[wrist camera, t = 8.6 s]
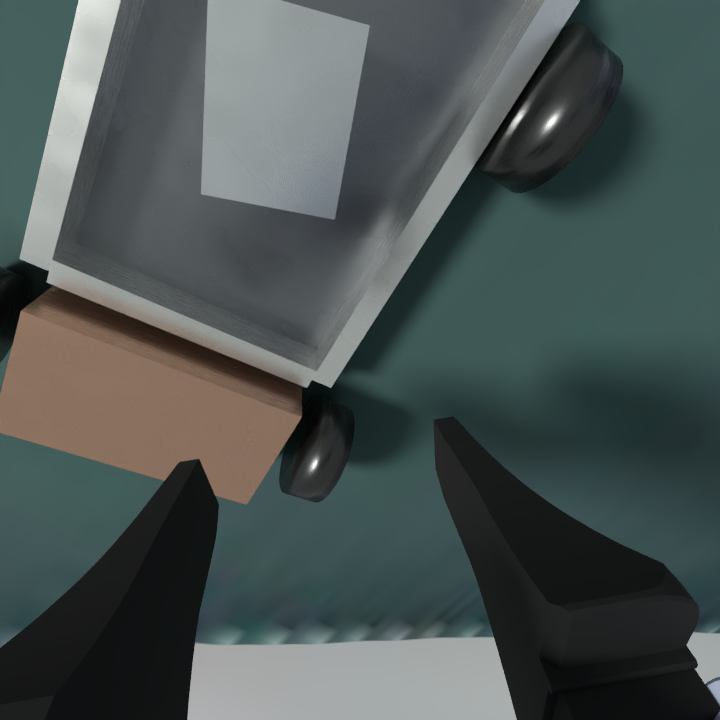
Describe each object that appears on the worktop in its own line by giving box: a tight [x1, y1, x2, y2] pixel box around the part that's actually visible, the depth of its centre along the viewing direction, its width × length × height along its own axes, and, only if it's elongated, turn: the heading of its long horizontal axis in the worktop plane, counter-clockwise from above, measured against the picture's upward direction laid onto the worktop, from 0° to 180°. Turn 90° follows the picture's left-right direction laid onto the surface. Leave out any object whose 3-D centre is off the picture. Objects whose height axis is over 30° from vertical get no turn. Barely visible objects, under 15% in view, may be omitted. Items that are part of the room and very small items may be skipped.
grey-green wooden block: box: [201, 0, 370, 220], centre depth 14 cm, size 4×5×5 cm
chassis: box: [0, 0, 623, 505], centre depth 16 cm, size 17×24×5 cm
